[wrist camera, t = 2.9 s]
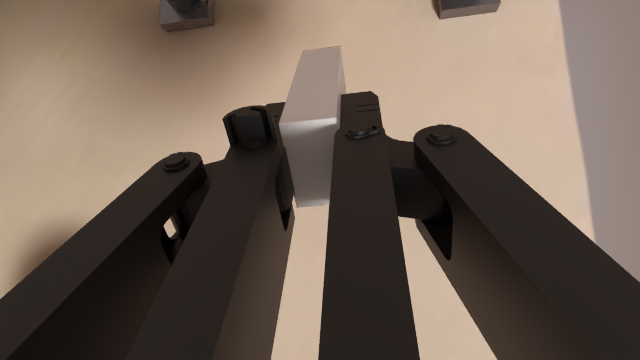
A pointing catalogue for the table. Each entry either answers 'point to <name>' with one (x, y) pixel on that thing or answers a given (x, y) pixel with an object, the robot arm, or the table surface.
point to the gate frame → (191, 12)
